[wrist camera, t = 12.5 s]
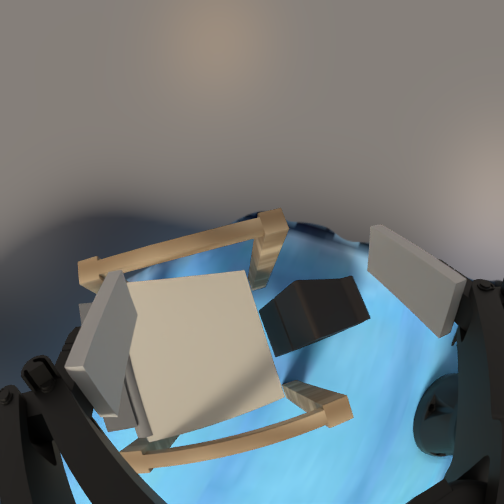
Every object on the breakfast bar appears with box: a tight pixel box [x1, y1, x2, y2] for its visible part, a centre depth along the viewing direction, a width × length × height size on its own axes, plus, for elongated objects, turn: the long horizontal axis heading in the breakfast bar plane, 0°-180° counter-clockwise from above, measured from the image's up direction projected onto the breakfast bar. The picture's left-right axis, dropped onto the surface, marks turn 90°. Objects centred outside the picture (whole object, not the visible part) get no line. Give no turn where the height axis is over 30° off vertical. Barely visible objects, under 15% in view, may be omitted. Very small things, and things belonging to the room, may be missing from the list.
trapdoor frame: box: [78, 208, 354, 474], centre depth 28 cm, size 18×18×19 cm
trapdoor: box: [79, 270, 285, 442], centre depth 23 cm, size 13×16×3 cm
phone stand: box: [259, 276, 370, 357], centre depth 32 cm, size 9×6×12 cm
